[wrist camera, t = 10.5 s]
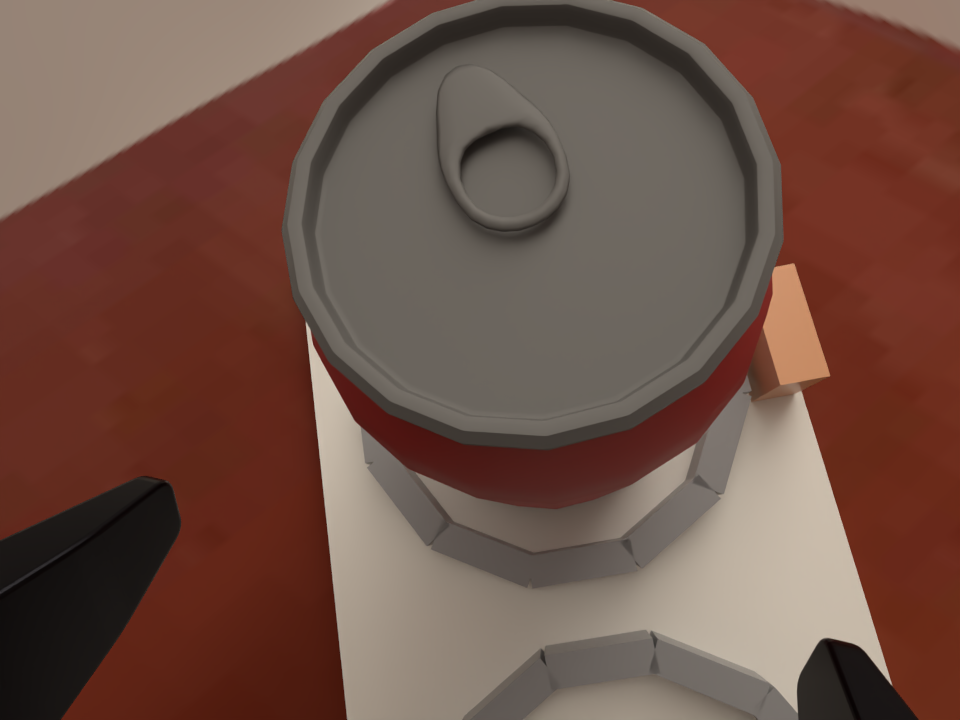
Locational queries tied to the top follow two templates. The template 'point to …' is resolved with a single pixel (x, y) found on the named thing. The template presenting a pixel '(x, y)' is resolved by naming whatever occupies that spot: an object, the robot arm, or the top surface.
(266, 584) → the top surface
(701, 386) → the beer can
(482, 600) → the board
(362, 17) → the top surface
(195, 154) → the top surface
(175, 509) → the robot arm
